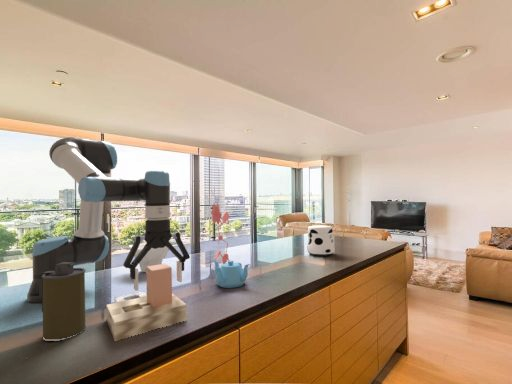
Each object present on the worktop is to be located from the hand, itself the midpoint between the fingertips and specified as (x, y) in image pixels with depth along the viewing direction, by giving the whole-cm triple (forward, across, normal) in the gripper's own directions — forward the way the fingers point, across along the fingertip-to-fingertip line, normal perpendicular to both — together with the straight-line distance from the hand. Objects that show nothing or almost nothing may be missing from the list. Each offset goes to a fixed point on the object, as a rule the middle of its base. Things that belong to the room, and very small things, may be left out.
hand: (158, 285), depth 89 cm
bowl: (+11, +13, +62) cm, 64 cm away
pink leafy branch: (+11, +48, +54) cm, 73 cm away
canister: (+10, -25, +6) cm, 28 cm away
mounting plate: (+10, -4, 0) cm, 11 cm away
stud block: (+8, 0, 0) cm, 8 cm away
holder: (+10, -5, +15) cm, 19 cm away
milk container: (+10, +111, +31) cm, 116 cm away
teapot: (+10, +34, +14) cm, 38 cm away
